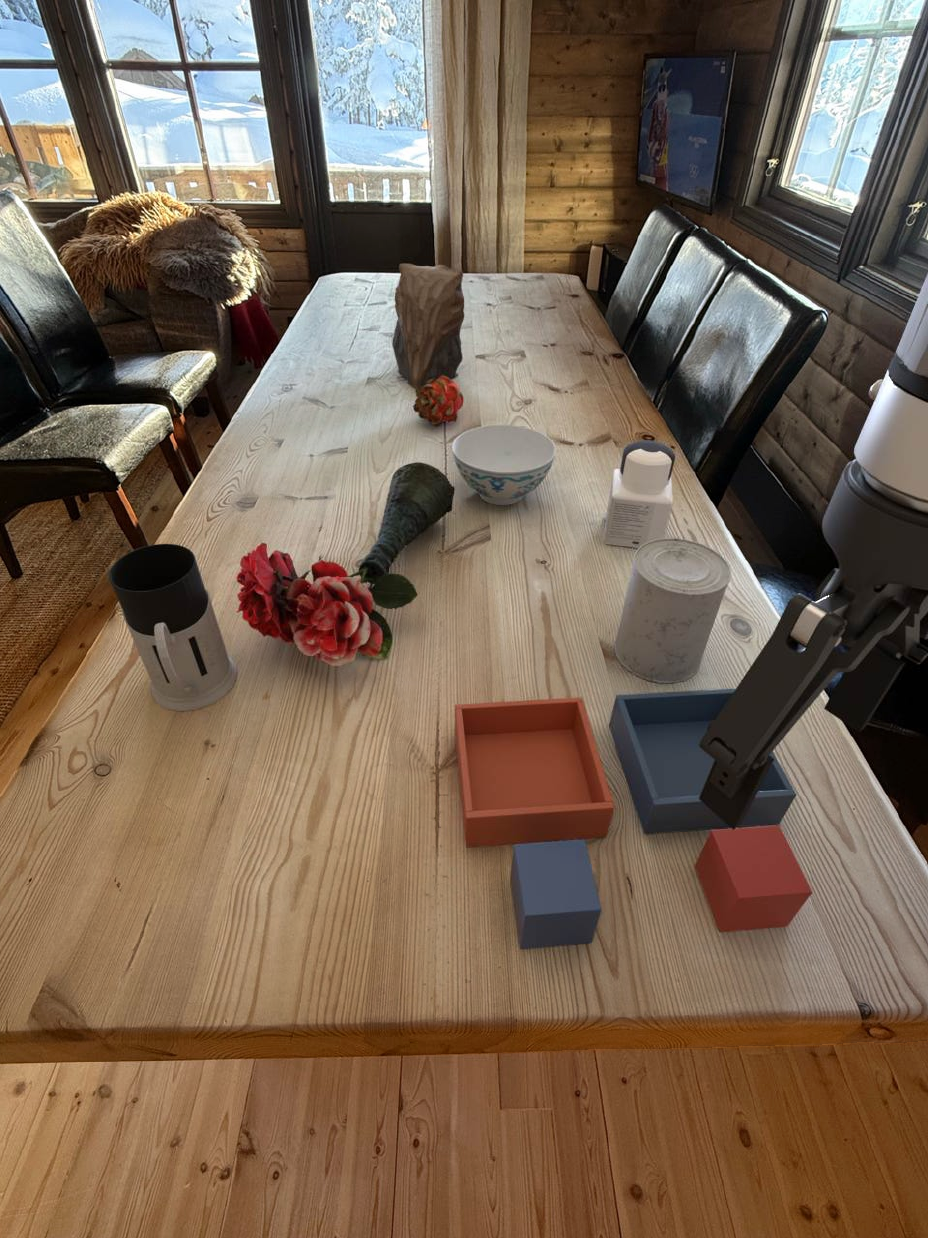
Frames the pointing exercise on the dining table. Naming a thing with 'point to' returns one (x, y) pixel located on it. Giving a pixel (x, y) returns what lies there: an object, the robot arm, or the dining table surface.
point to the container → (640, 495)
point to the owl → (428, 323)
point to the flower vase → (345, 579)
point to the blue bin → (682, 762)
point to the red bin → (530, 773)
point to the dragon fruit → (438, 400)
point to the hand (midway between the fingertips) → (785, 762)
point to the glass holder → (173, 626)
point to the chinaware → (503, 461)
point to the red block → (751, 878)
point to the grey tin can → (670, 608)
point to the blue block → (554, 894)
